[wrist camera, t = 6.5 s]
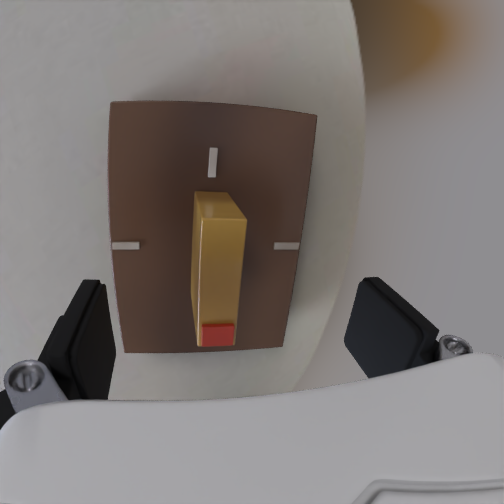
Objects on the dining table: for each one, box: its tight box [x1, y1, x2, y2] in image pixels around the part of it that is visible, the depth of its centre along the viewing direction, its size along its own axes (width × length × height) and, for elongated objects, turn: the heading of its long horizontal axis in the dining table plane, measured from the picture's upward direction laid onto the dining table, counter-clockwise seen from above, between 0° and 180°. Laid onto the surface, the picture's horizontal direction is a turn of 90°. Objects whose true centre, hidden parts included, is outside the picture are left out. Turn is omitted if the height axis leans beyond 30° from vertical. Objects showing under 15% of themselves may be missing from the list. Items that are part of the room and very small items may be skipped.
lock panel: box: [108, 101, 317, 353], centre depth 17 cm, size 10×14×3 cm
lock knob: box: [191, 191, 247, 347], centre depth 14 cm, size 6×2×5 cm, turn 174°
